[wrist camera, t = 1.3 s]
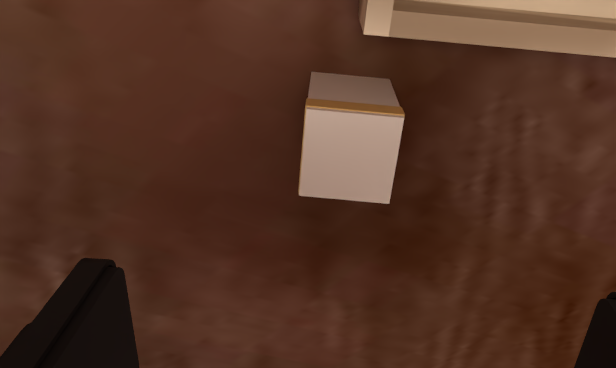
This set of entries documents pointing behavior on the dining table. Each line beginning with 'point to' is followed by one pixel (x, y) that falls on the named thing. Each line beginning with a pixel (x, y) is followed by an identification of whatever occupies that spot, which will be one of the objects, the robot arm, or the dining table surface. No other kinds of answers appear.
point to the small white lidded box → (350, 138)
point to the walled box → (498, 23)
